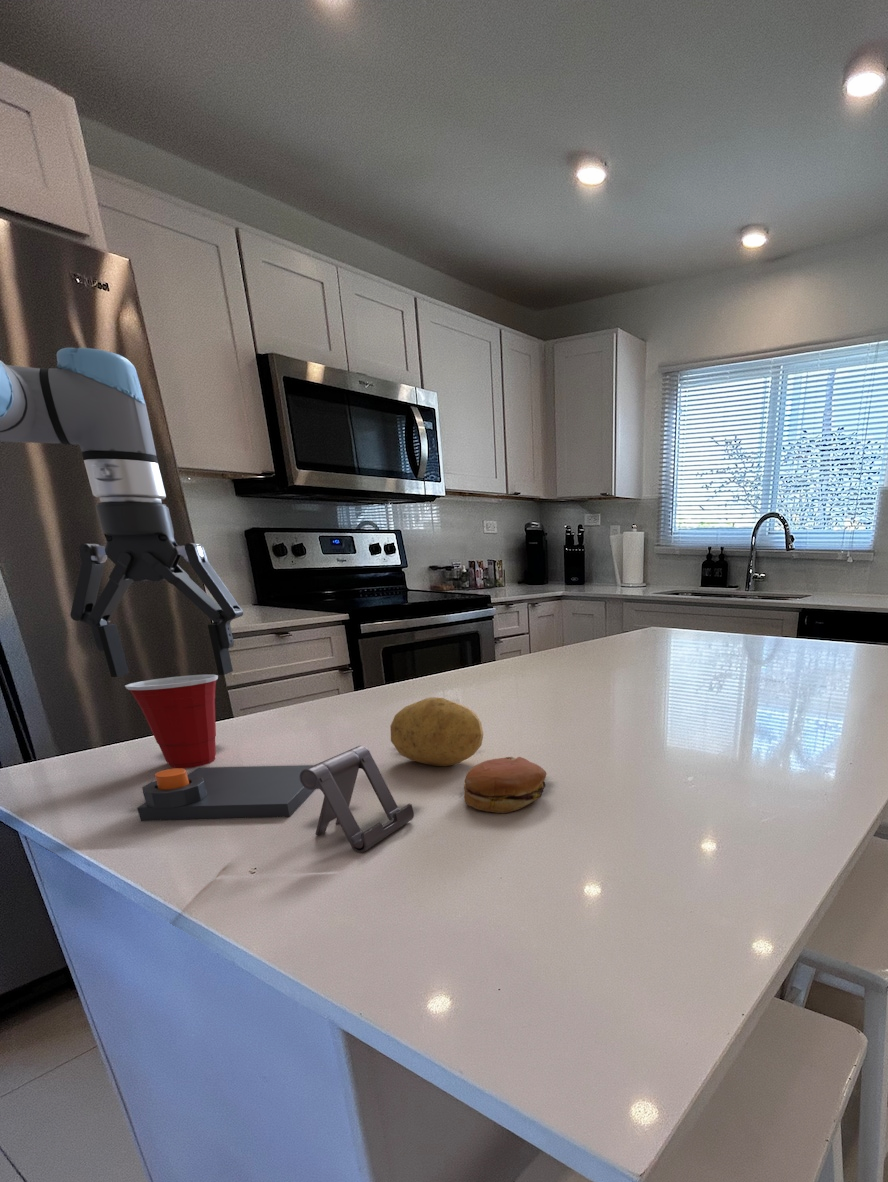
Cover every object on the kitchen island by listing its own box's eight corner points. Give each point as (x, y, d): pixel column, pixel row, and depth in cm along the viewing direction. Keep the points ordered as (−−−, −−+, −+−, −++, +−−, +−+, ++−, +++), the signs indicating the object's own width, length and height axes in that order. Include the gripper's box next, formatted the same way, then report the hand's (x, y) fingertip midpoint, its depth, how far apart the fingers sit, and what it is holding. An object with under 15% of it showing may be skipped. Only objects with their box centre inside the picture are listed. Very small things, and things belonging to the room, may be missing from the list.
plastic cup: (212, 746, 100) (195, 667, 96) (249, 759, 94) (232, 675, 90) (132, 764, 92) (109, 678, 87) (167, 779, 86) (144, 688, 81)
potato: (414, 688, 96) (374, 694, 87) (496, 699, 92) (463, 707, 84) (414, 751, 99) (375, 764, 90) (494, 765, 95) (462, 779, 86)
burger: (464, 816, 74) (462, 777, 73) (465, 789, 83) (463, 753, 81) (551, 811, 76) (550, 773, 74) (543, 785, 85) (542, 750, 83)
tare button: (153, 792, 73) (149, 777, 72) (167, 782, 75) (163, 768, 75) (181, 791, 73) (177, 776, 72) (194, 782, 76) (191, 767, 75)
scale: (138, 823, 72) (130, 793, 71) (201, 779, 86) (195, 754, 84) (288, 819, 74) (283, 790, 72) (327, 777, 87) (323, 751, 86)
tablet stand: (366, 855, 65) (355, 775, 62) (300, 845, 67) (286, 767, 64) (414, 822, 73) (407, 750, 70) (354, 814, 75) (344, 743, 72)
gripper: (0, 499, 76) (56, 681, 84) (223, 499, 78) (258, 677, 86) (45, 503, 83) (93, 670, 91) (249, 503, 85) (279, 667, 93)
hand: (173, 674), depth 88 cm, fingers open, 13 cm apart
